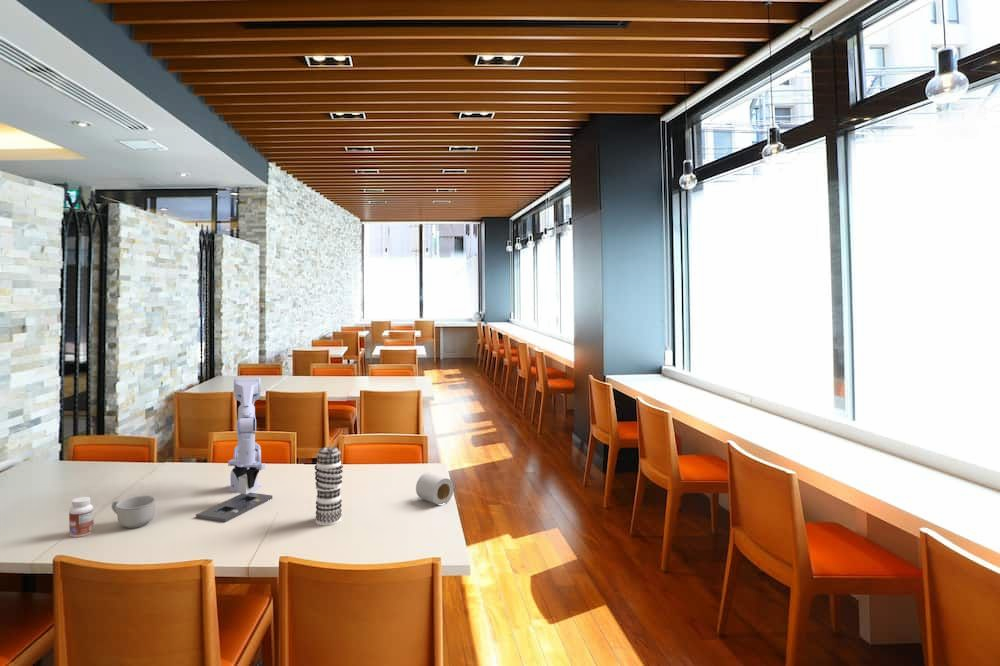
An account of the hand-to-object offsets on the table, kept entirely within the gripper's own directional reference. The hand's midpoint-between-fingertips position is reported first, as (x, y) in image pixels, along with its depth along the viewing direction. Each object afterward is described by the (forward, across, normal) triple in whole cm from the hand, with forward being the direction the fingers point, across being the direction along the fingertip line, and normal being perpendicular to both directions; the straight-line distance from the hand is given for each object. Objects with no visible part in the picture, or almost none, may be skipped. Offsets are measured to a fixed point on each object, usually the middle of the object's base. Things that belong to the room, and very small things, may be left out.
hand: (246, 486), depth 209 cm
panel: (+6, 0, -6) cm, 8 cm away
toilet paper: (+6, +64, +24) cm, 69 cm away
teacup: (+6, -22, -28) cm, 36 cm away
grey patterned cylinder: (+6, +37, -5) cm, 38 cm away
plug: (+2, 0, 0) cm, 2 cm away
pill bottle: (+6, -30, -39) cm, 49 cm away
